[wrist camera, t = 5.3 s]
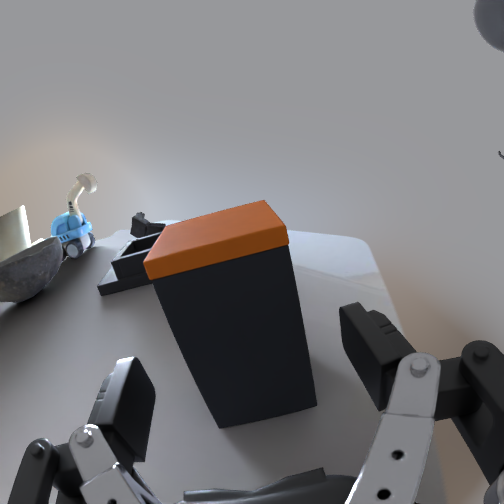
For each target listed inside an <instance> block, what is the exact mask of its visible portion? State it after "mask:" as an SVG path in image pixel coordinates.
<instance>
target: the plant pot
mask: <svg viewBox="0 0 504 504" xmlns="http://www.w3.org/2000/svg"><path fill="white" fill-rule="evenodd" d="M29 247H31V244H30V237H29V230H28V224H27V219H26V213H25V208H24V206H22V207H20V208H17V209H15V210H13V211H11V212H9V213H7V214H5V215H3V216H1V217H0V262H1V261H3V260H5V259H7V258H9V257H11V256H13V255H15V254H17V253H19V252H20V251H22V250H24V249H27V248H29Z"/></svg>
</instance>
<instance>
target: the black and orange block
mask: <svg viewBox="0 0 504 504" xmlns="http://www.w3.org/2000/svg"><path fill="white" fill-rule="evenodd" d="M288 244H289V239H288V234H287V229H286V226H285V225H284V223H283V222H282V221H281V219H280V218H279V217H278V216H277V215H276V213H275V212H274V211H273V210H272V209H271V207H270V206H269V205H268V204H267V203H266V202H265V200H262V201H258V202H253V203H249V204H245V205H242V206H238V207H234V208H230V209H226V210H223V211H218V212H215V213H211V214H207V215H204V216H200V217H196V218H193V219H189V220H186V221H182V222H178V223H175V224H171V225H168V226H166V227H165V228H164V230H163V231H162V233H161V234H160V236H159V238H158V239H157V241H156V242H155V244H154V245H153V247H152V249H151V250H150V252H149V254H148V255H147V257H146V258H145V260H144V262H143V264H144V267H145V269H146V272H147V275H148V277H149V279H150V280H152V284H153V286H154V289H155V291H156V294H157V296H158V299H159V301H160V304H161V306H162V309H163V311H164V314H165V316H166V318H167V321H168V323H169V325H170V328H171V330H172V332H173V335H174V337H175V339H176V342H177V344H178V346H179V348H180V350H181V353H182V355H183V357H184V359H185V361H186V364H187V366H188V368H189V370H190V372H191V374H192V376H193V378H194V380H195V382H196V384H197V386H198V388H199V391H200V393H201V395H202V396H203V398H204V400H205V402H206V404H207V406H208V408H209V410H210V412H211V414H212V416H213V418H214V420H215V422H216V423H217V425H218V427H219V428H225V427H230V426H235V425H241V424H245V423H250V422H255V421H259V420H264V419H268V418H272V417H277V416H281V415H285V414H288V413H292V412H296V411H300V410H303V409H307V408H310V407H314V406H317V400H316V394H315V387H314V381H313V375H312V369H311V363H310V357H309V352H308V346H307V340H306V335H305V329H304V324H303V318H302V313H301V307H300V302H299V297H298V291H297V286H296V281H295V276H294V271H293V266H292V261H291V256H290V251H289V246H288Z"/></svg>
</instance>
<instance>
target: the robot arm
mask: <svg viewBox="0 0 504 504" xmlns="http://www.w3.org/2000/svg"><path fill="white" fill-rule="evenodd" d="M473 14H474V22H475V25H476V27H477V30H478V32H479V33H480V35H481V36H482V38H483V39H484V40H485V41H486V42H487V43H488V44H489V45H491V46H492V47H493V48H495V49H497V50H499V51H501V52H504V0H476V2H475V6H474V11H473ZM499 155H500V157H502V158H503V159H504V156H503V155H501V152H500V151H499ZM339 316H340V326H341V336H342V343H343V347H344V350H345V352H346V354H347V356H348V358H349V360H350V361H351V363H352V365H353V367H354V368H355V370H356V372H357V374H358V376H359V377H360V379H361V381H362V383H363V384H364V386H365V388H366V390H367V392H368V393H369V395H370V397H371V399H372V401H373V402H374V404H375V406H376V408H377V410H378V411H382V410H384V409H386V411H385V412H383V414H382V416H381V418H380V421H379V424H378V427H377V430H376V432H375V435H374V438H373V441H372V443H371V446H370V448H369V451H368V454H367V456H366V459H365V461H364V464H363V466H362V468H361V471H360V473H359V475H358V478H357V477H352V476H346V475H325V472H324V469H323V467H322V468H319V469H315V470H311V471H308V472H304V473H300V474H296V475H292V476H288V477H286V478H283V479H281V480H279V481H277V482H274V483H272V484H270V485H267V486H265V487H262V488H260V489H257V490H255V491H237V490H224V489H209V490H197V491H184V500H183V501H180V502H177V503H175V504H419V503H416V502H415V498H416V495H417V492H418V489H419V486H420V482H421V479H422V475H423V471H424V468H425V464H426V460H427V456H428V452H429V447H430V443H431V438H432V433H433V428H434V422H435V421H438V420H443V419H448V418H451V419H452V421H453V422H454V424H455V426H456V427H457V429H458V431H459V432H460V434H461V436H462V437H463V439H464V441H465V442H466V444H467V446H468V447H469V449H470V451H471V452H472V454H473V456H474V458H475V459H476V461H477V463H478V465H479V466H480V468H481V470H482V472H483V474H484V476H485V477H486V479H487V481H488V483H489V485H490V486H489V488H488V489H487V491H486V493H485V496H484V504H504V355H503V354H502V353H501V352H500V351H499V349H498V348H497V347H496V346H494V345H493V344H492V343H489V342H487V341H480V340H478V341H473V342H470V343H469V344H467V345H466V346H465V347H464V348H463V351H462V355H461V357H456V358H451V359H446V360H438V359H437V358H436V357H435V356H433V355H431V354H428V353H423V352H416V350H415V349H414V348H413V347H412V346H411V345H410V343H409V342H408V341H407V340H406V339H405V338H404V336H403V335H402V334H401V333H400V332H399V331H398V330H397V328H396V327H395V326H394V325H393V324H391V322H390V320H389V319H388V318H387V317H386V316H385V315H384V314H382V313H379V312H377V311H375V310H372V311H369V312H367V311H366V310H365V309H364V308H363V306H362V305H361V304H360V303H359V302H355V303H352V304H349V305H346V306H342V307H340V308H339ZM99 392H100V393H98V396H97V398H96V399H97V401H95V404H94V406H93V409H92V412H91V414H90V417H89V420H88V423H87V425H84V426H82V427H80V428H78V429H77V430H75V431H74V432H73V434H72V435H71V437H70V439H69V443H65V444H61V445H58V446H53V445H52V444H51V443H50V442H49V441H48V440H47V439H45V438H40V439H36V440H34V441H33V442H31V443H30V444H29V446H28V447H27V449H26V451H25V453H24V456H23V459H22V461H21V464H20V467H19V470H18V473H17V476H16V478H15V481H14V485H13V488H12V491H11V494H10V497H9V501H8V504H49V497H50V493H51V489H52V486H54V487H55V488H56V489H57V490H59V491H58V495H57V499H56V504H162V503H161V502H160V501H159V500H158V498H157V497H156V496H155V494H154V493H153V492H152V491H151V489H150V488H149V487H148V485H147V484H146V483H145V481H144V480H143V478H142V477H141V476H140V474H139V473H138V471H137V470H136V469H135V468H134V467H133V463H134V462H145V457H146V451H147V445H148V439H149V433H150V427H151V421H152V416H153V410H154V405H155V399H156V394H155V389H154V386H153V384H152V382H151V380H150V378H149V377H148V375H147V373H146V371H145V370H144V368H143V366H142V364H141V362H140V361H139V359H138V358H137V357H132V358H126V359H120V360H118V361H117V364H116V366H115V369H114V371H113V373H110V374H109V375H108V377H107V378H106V379H105V380H104V381H103V383H102V385H101V388H100V391H99Z"/></svg>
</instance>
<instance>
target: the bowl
mask: <svg viewBox="0 0 504 504" xmlns="http://www.w3.org/2000/svg"><path fill="white" fill-rule="evenodd" d="M62 258H63V250H62V245H61V242H60V240H59V238H58V237H57V236H53V237H50V238H47V239H45V240H43V241H40V242H38V243H36V244H35V245H33V246H31V247H29V248H27V249H24V250H22V251H20V252H19V253H17V254H15V255H13V256H11V257H9V258H7V259H5V260H3V261H1V262H0V301H1V302H22V301H24V300H27V299H29V298H31V297H33V296H35V295H36V294H37V293H38V292H39V291H40V290H42V289H43V288H44V287H45V286H46V285H47V284H48V283H49V282H50V280H51V279H52V277H53V276H54V275H55V274H56V273H57V271H58V269H59V267H60V265H61V262H62Z"/></svg>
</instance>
